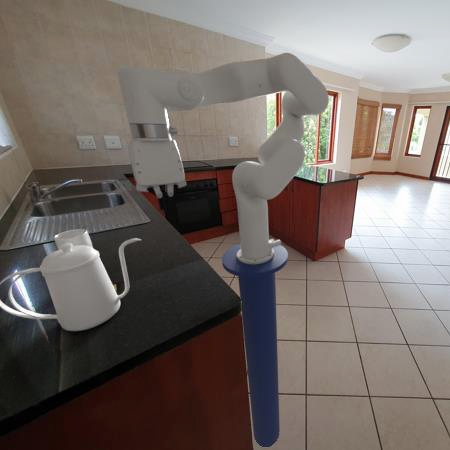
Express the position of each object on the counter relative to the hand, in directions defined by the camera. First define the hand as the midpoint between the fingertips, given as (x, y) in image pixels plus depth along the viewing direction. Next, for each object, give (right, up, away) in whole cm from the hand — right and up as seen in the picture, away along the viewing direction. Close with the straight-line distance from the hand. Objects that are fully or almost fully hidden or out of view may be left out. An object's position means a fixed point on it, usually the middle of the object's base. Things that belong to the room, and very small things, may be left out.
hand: (167, 211), depth 59 cm
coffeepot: (-15, -25, -3) cm, 29 cm away
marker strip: (-21, -22, +4) cm, 31 cm away
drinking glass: (-28, -20, +9) cm, 36 cm away
